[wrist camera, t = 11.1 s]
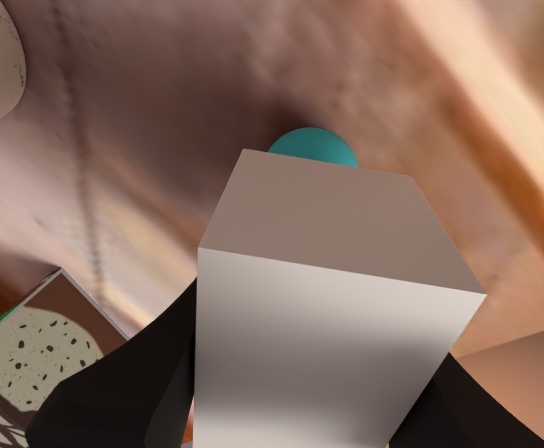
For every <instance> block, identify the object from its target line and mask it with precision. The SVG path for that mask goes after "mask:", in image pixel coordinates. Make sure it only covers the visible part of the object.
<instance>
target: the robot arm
mask: <svg viewBox="0 0 544 448" xmlns="http://www.w3.org/2000/svg"><path fill="white" fill-rule="evenodd" d="M196 307H197V277H196V279H195V280H194V281H193V282H192V283H191V284H190V285H189V287H188V288H187V289H186V290H185V291H184V292H183V293H182V294H181V295H180V296H179V297H178V298H177V299H176V300H175V301H174V302H173V303H172V304H171V305H170V306H169V307H168V308H167V309H166V310H165V311H164V312H163V313H162V314H161V315H160V316H158V317H157V318H156V319H155V320H154V321H153V322H151V323H150V324H149V325H148V326H147V327H145V328H144V329H143V330H141V331H140V332H139V333H138V334H136V335H135V336H134V337H132V338H131V339H130V340H128V341H127V342H125V343H124V344H123V345H121V346H120V347H118V348H116V349H115V350H113V351H112V352H110V353H109V354H107V355H106V356H104V357H103V358H101V359H99V360H98V361H96V362H95V363H93V364H91V365H89V366H88V367H86V368H84V369H82V370H80V371H79V372H77V373H75V374H73V375H71V376H70V377H68V378H66V379H64V380H62V381H60V382H59V383H58V385H57V386H56V387H55V388H54V389H53V391H52V392H51V393H50V394H49V396H48V397H47V398H46V399H45V401H44V402H43V403H42V405H41V406H40V408H39V409H38V411H37V412H36V414H35V416H34V417H33V419H32V420H31V422H30V423H29V425H28V426H27V428H26V430H25V433H24V435H25V438H26V442H27V444H28V445H29V447H30V448H181V444H182V439H183V435H184V431H185V427H186V423H187V419H188V415H189V411H190V407H191V404H192V400H193V396H194V385H195V346H196ZM389 448H544V440H543V439H541V438H540V437H539V436H538V435H536V434H535V433H534V432H533V431H531V430H530V429H529V428H528V427H526V426H525V425H524V424H523V423H521V422H520V421H519V420H518V419H517V418H516V417H514V416H513V415H512V414H511V413H509V412H508V411H507V410H506V409H505V408H504V407H503V406H502V405H500V404H499V403H498V402H497V401H496V400H495V399H494V398H493V397H492V396H491V395H490V394H489V393H487V392H486V391H485V390H484V389H483V388H482V387H481V386H480V385H479V384H478V383H477V382H476V381H475V380H474V379H473V378H472V377H471V376H470V375H469V374H468V373H467V372H466V371H465V370H464V369H463V367H462V366H461V365H460V364H459V363H458V362H457V361H456V360H455V359H454V357H453V356H452V355H451V354H450V353H449V352H448V354H447V355H446V357H445V358H444V360H443V361H442V363H441V364H440V366H439V367H438V369H437V370H436V372H435V373H434V375H433V376H432V378H431V379H430V381H429V382H428V384H427V385H426V387H425V388H424V390H423V391H422V393H421V394H420V396H419V397H418V399H417V400H416V402H415V403H414V405H413V406H412V408H411V409H410V411H409V412H408V414H407V415H406V417H405V418H404V420H403V421H402V423H401V424H400V426H399V427H398V429H397V430H396V432H395V433H394V435H393V436H392V438H391V439H390V441H389Z"/></svg>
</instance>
